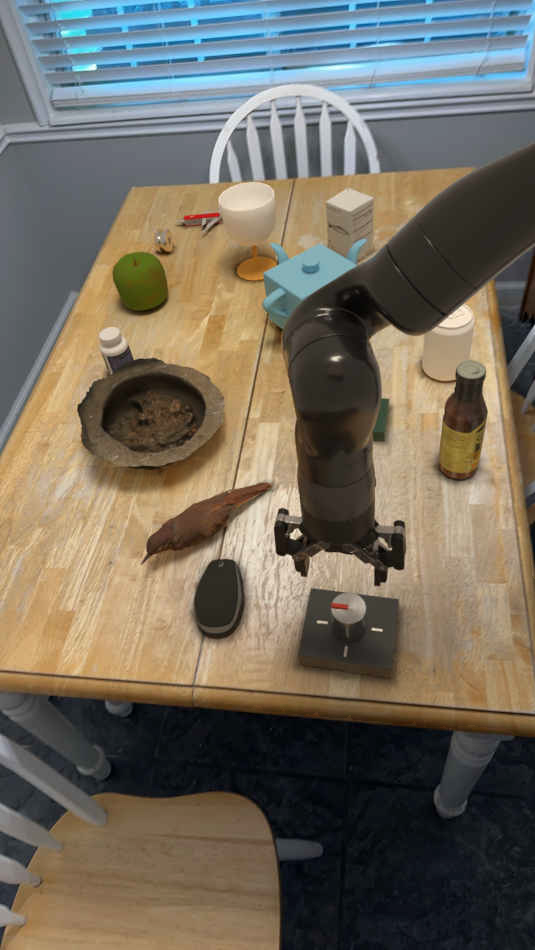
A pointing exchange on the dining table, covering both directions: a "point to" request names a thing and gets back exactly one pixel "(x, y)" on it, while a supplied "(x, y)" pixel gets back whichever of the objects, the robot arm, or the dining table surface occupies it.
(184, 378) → the stone bowl
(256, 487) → the bird sculpture
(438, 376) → the beverage can
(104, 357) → the pill bottle
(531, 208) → the robot arm
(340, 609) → the silver dial knob
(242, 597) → the computer mouse
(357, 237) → the white packaging box
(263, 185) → the cup
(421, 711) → the dining table surface
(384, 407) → the button box
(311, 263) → the teakettle
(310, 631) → the dial base plate
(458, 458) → the sauce bottle
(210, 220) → the swiss army knife
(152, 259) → the apple
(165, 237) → the metal grooved wheel
